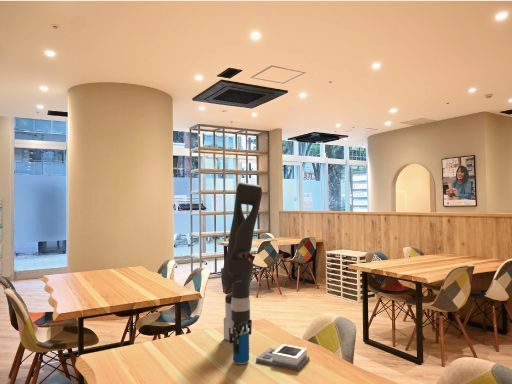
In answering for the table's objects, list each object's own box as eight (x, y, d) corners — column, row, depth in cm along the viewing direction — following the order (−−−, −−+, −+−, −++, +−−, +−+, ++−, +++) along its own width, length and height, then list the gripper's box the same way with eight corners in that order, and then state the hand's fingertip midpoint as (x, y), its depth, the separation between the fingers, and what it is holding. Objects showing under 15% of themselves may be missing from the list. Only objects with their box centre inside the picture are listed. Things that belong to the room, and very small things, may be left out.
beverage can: (231, 359, 151) (230, 329, 151) (246, 357, 153) (245, 327, 154) (235, 366, 145) (235, 335, 145) (251, 363, 147) (251, 332, 148)
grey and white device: (256, 362, 149) (256, 350, 149) (269, 351, 160) (269, 340, 160) (298, 371, 141) (297, 359, 141) (309, 359, 151) (309, 348, 151)
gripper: (241, 302, 158) (242, 342, 157) (222, 311, 145) (223, 354, 145) (257, 304, 154) (257, 345, 154) (239, 314, 142) (239, 358, 141)
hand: (240, 349), depth 149 cm, fingers closed on beverage can, 6 cm apart
